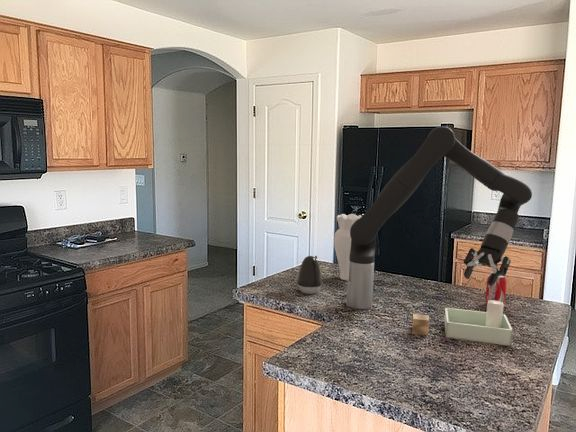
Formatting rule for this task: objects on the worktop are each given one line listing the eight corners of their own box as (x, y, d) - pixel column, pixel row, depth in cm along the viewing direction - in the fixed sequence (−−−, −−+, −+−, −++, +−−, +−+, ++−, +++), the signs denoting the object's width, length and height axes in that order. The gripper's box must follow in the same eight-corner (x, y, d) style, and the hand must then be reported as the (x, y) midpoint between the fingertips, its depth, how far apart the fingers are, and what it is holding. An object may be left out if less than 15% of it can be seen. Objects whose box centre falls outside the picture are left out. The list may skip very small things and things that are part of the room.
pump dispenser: (326, 291, 198) (327, 255, 196) (313, 297, 190) (315, 260, 188) (304, 286, 204) (306, 252, 202) (292, 292, 195) (293, 256, 193)
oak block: (412, 333, 155) (413, 318, 155) (412, 328, 160) (413, 313, 159) (428, 335, 154) (429, 320, 153) (428, 329, 159) (429, 315, 158)
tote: (445, 337, 152) (446, 322, 152) (444, 321, 167) (445, 307, 166) (511, 345, 147) (512, 330, 147) (503, 328, 162) (505, 314, 161)
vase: (356, 284, 209) (359, 219, 205) (326, 279, 217) (329, 215, 213) (370, 277, 221) (373, 215, 217) (341, 272, 229) (344, 212, 225)
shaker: (484, 333, 155) (488, 303, 154) (483, 328, 160) (487, 299, 158) (500, 336, 154) (504, 306, 152) (499, 330, 158) (503, 301, 157)
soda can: (506, 308, 183) (509, 278, 181) (486, 307, 184) (489, 276, 182) (502, 303, 189) (504, 273, 188) (483, 301, 191) (485, 272, 189)
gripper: (473, 229, 163) (453, 271, 160) (512, 237, 151) (492, 282, 149) (483, 239, 167) (464, 280, 165) (522, 247, 156) (502, 292, 153)
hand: (477, 281), depth 157 cm, fingers open, 8 cm apart
